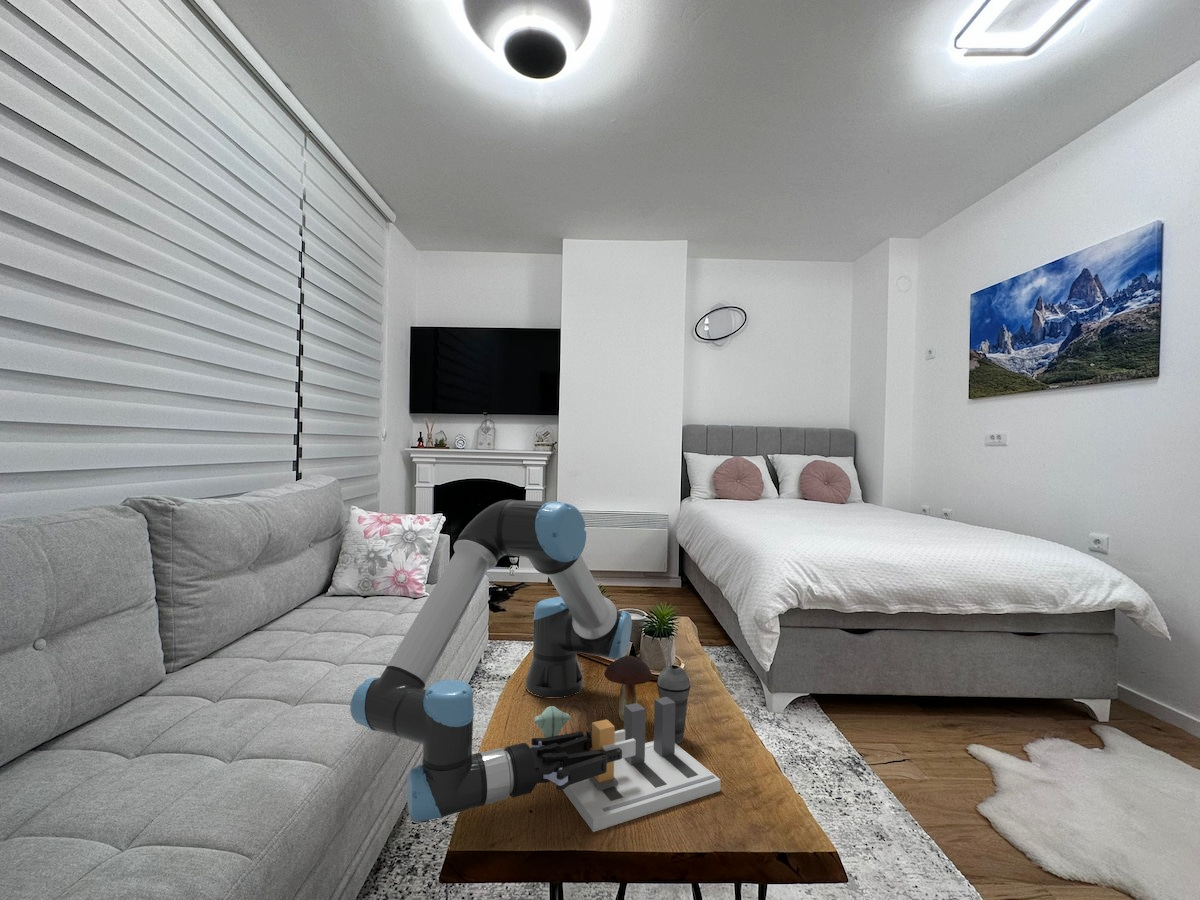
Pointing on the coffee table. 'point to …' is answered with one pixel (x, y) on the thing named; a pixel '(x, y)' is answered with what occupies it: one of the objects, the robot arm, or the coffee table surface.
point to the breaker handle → (600, 736)
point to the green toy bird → (551, 721)
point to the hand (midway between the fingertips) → (629, 742)
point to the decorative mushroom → (628, 678)
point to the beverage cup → (675, 693)
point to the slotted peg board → (645, 774)
